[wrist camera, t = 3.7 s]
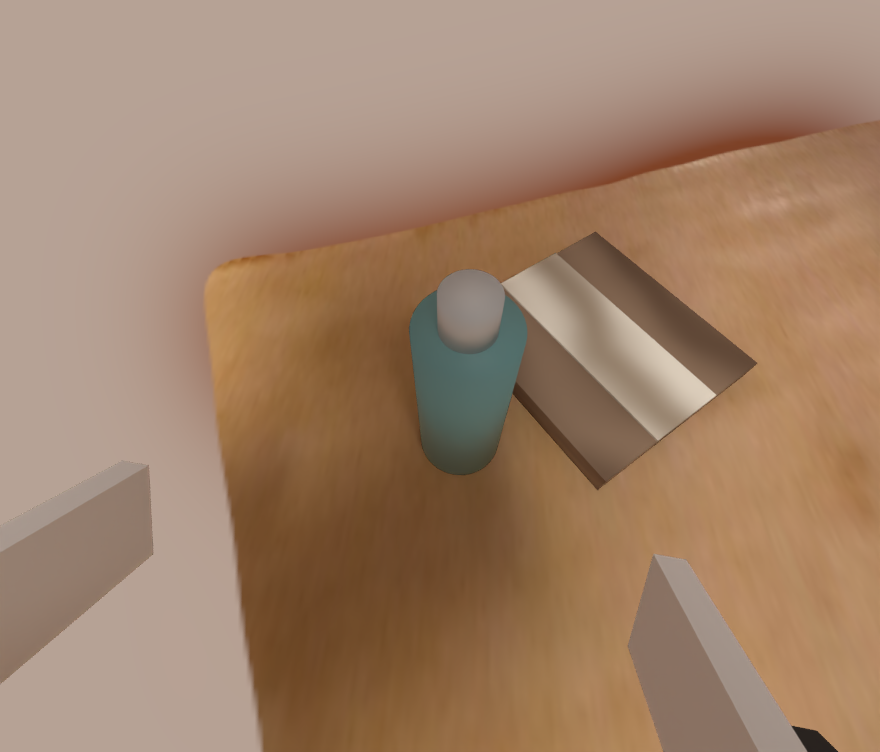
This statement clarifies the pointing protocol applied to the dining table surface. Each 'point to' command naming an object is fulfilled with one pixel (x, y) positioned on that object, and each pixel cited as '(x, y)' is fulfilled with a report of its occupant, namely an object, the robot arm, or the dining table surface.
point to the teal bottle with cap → (465, 368)
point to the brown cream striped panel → (613, 356)
